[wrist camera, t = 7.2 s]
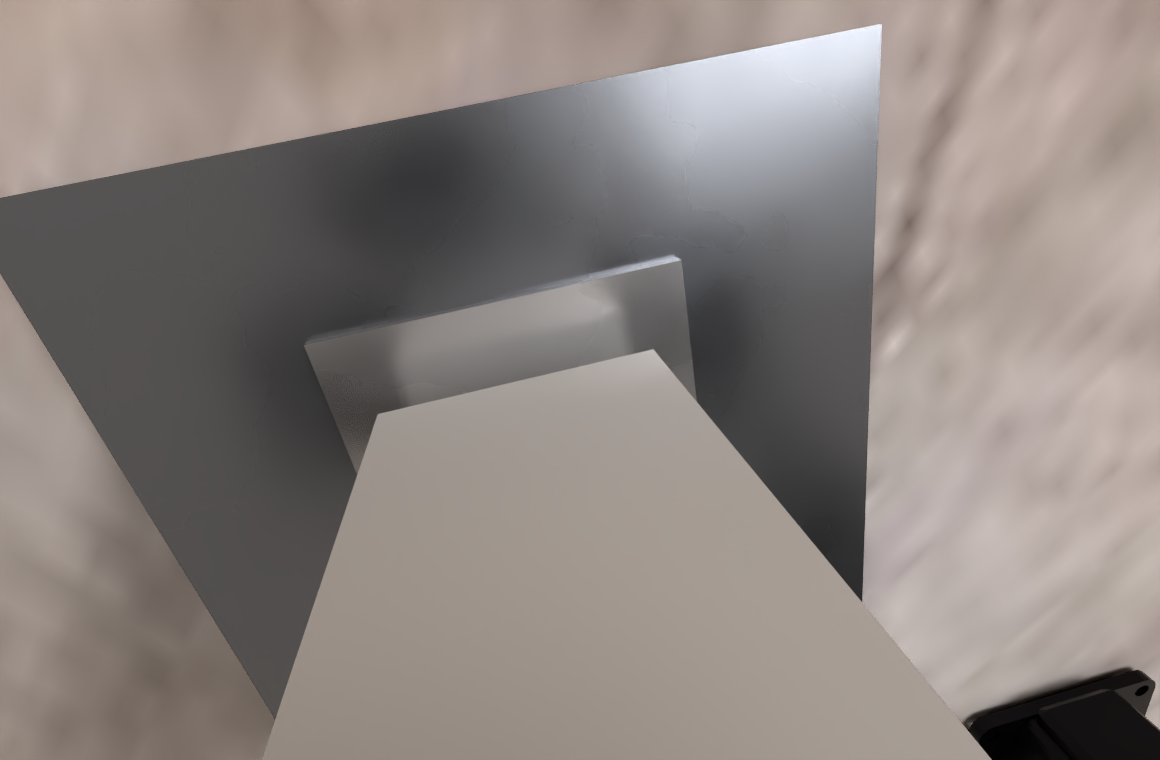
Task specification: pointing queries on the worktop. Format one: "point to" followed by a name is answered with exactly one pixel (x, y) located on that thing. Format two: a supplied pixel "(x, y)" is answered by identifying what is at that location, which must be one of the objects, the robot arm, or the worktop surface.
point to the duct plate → (467, 299)
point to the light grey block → (589, 596)
